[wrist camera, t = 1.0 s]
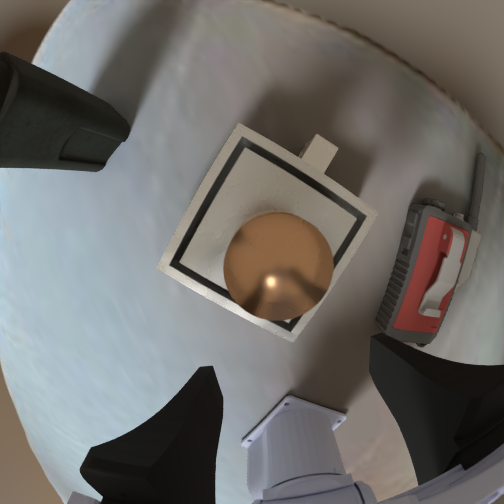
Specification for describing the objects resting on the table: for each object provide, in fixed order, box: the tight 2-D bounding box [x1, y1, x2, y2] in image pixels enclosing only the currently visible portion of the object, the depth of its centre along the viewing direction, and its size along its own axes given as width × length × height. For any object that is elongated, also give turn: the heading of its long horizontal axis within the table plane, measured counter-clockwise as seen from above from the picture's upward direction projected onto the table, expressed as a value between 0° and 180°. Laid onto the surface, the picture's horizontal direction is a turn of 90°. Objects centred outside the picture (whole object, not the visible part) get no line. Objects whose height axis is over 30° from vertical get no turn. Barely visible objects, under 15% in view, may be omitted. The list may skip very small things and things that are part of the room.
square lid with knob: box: [179, 148, 357, 323], centre depth 13 cm, size 8×8×7 cm
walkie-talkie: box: [375, 152, 486, 347], centre depth 19 cm, size 9×4×20 cm
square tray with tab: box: [157, 123, 379, 343], centre depth 18 cm, size 12×10×4 cm
